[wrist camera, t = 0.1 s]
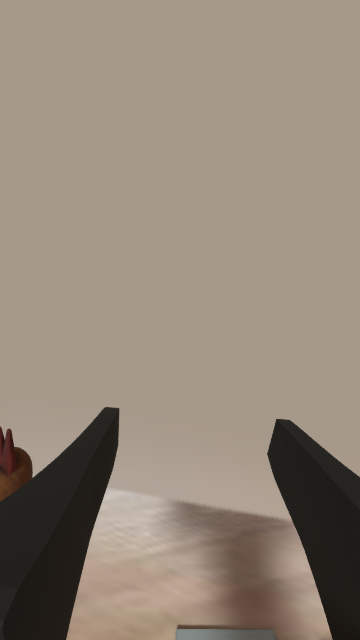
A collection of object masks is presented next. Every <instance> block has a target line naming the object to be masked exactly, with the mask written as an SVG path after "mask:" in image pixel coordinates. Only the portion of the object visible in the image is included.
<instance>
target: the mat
mask: <svg viewBox="0 0 360 640" xmlns="http://www.w3.org/2000/svg"><path fill="white" fill-rule="evenodd" d="M176 640H276V638H275V634H274V630H260V629H176Z"/></svg>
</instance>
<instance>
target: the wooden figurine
mask: <svg viewBox="0 0 360 640" xmlns="http://www.w3.org/2000/svg"><path fill="white" fill-rule="evenodd" d="M32 473H33V472H32V461H31V459H30V456H29V455H28V454H27V452H25V451H24V450H23V449H21V448H19V447H14V443H13V438H12V431H11V429H8V430H7V432H6V438H5V439H4V435H3V432H2V428H1V427H0V502H1V501H2V500H4V499H5V498H6V497H8V496H9V495H11V494H12V493H13V492H15V491H16V490H17V489H19V488H20V487H21V486H23V485H24V484H25V483H27V482H28V481H29V480H31V479H32Z"/></svg>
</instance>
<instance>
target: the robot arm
mask: <svg viewBox="0 0 360 640" xmlns="http://www.w3.org/2000/svg"><path fill="white" fill-rule="evenodd" d="M118 432H119V408H110V407H105V408H104V409H103V410H102V411H101V412H100V413H99V415H98V416H97V417H96V418H95V419H94V420H93V422H92V423H91V424H90V425H89V426H88V427H87V428H86V429H85V430H84V431H83V432H82V433H81V435H80V436H79V437H78V438H77V439H76V440H75V441H74V442H73V443H72V444H71V445H70V446H69V447H68V448H66V449H65V450H64V451H63V452H62V453H61V454H60V455H59V456H58V457H57V458H56V459H55V460H54V461H53V462H51V463H50V464H49V465H48V466H47V467H45V468H44V469H43V470H42V471H41V472H39V473H38V474H37V475H36V476H34V477H33V478H32V479H31V480H29V481H28V482H27V483H25V484H24V485H23V486H21V487H20V488H19V489H17V490H16V491H15V492H13V493H12V494H11V495H9V496H8V497H6V498H5V499H4V500H2V501H1V502H0V640H66V637H67V633H68V629H69V624H70V620H71V616H72V611H73V607H74V603H75V599H76V594H77V590H78V586H79V582H80V578H81V574H82V569H83V565H84V561H85V557H86V553H87V549H88V545H89V541H90V538H91V534H92V531H93V528H94V524H95V521H96V518H97V515H98V512H99V509H100V506H101V503H102V500H103V497H104V494H105V491H106V488H107V485H108V482H109V479H110V476H111V473H112V469H113V466H114V461H115V457H116V452H117V448H118ZM267 455H268V458H269V462H270V465H271V469H272V472H273V475H274V478H275V480H276V483H277V485H278V488H279V490H280V492H281V495H282V497H283V500H284V502H285V504H286V507H287V509H288V511H289V514H290V516H291V518H292V521H293V523H294V525H295V528H296V530H297V532H298V535H299V537H300V540H301V542H302V545H303V547H304V550H305V553H306V556H307V559H308V562H309V565H310V568H311V571H312V574H313V577H314V580H315V583H316V586H317V589H318V592H319V596H320V599H321V602H322V605H323V608H324V612H325V615H326V618H327V621H328V625H329V628H330V632H331V635H332V639H333V640H360V477H359V476H357V475H356V474H355V473H354V472H352V471H351V470H349V469H348V468H347V467H346V466H344V465H343V464H342V463H341V462H339V461H338V460H337V459H336V458H334V457H333V456H332V455H331V454H330V453H328V452H327V451H326V450H325V449H324V448H322V447H321V446H320V445H319V444H318V443H316V442H315V441H314V440H313V439H312V438H311V437H309V436H308V435H307V434H306V433H305V432H304V431H303V430H301V429H300V428H299V427H298V426H297V425H295V424H294V423H293V422H291V421H290V420H284V419H276V423H275V427H274V431H273V434H272V438H271V442H270V446H269V450H268V453H267Z"/></svg>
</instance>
